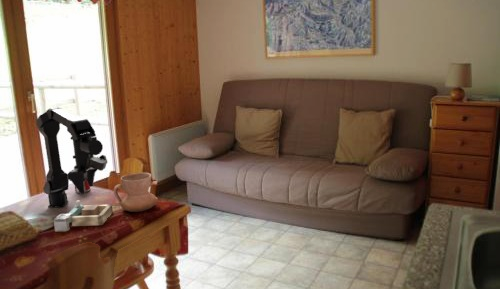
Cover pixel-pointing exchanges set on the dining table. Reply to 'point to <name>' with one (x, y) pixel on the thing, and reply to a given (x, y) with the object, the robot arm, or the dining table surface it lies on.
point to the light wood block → (90, 210)
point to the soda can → (85, 186)
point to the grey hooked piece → (62, 222)
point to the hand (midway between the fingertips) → (87, 190)
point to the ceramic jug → (136, 192)
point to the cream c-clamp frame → (93, 217)
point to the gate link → (76, 210)
